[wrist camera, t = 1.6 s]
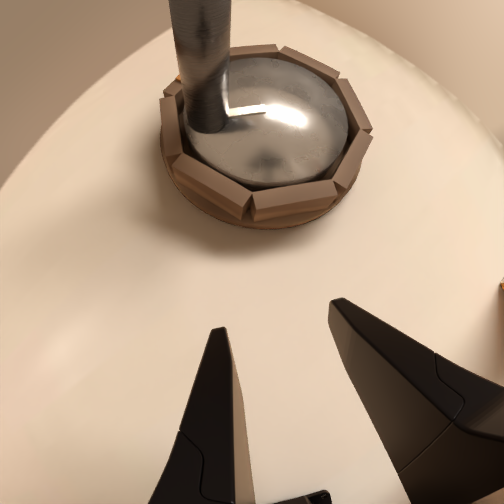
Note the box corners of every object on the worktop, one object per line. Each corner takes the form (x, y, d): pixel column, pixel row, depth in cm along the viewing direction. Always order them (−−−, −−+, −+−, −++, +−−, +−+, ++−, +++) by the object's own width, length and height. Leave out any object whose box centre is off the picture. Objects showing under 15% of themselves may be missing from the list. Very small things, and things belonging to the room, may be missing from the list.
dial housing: (385, 209, 24) (407, 191, 20) (177, 251, 22) (166, 236, 18) (320, 64, 27) (329, 39, 23) (156, 83, 25) (149, 56, 21)
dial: (361, 181, 22) (464, 59, 9) (199, 209, 21) (163, 50, 7) (311, 69, 25) (350, -51, 11) (178, 83, 24) (158, -53, 10)
